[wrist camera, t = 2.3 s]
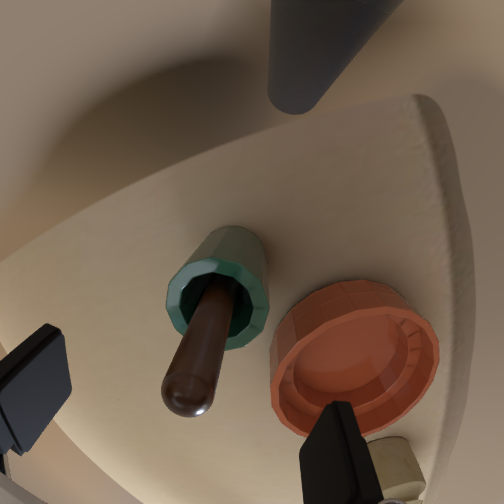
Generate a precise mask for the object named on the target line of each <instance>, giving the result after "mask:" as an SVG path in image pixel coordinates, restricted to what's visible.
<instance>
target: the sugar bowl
mask: <svg viewBox="0 0 504 504" xmlns="http://www.w3.org/2000/svg"><path fill="white" fill-rule="evenodd" d="M367 445H368V448H369V451H370V455H371V458H372V461H373V464H374V467H375V470H376V473H377V477H378V480H379V483H380V486H381V490H382V493H383V496H384V499H389V498H396V499H399V500H402V501H403V502H405V503H407V504H422V502H423V501H422V500H418V497H419V495H420V494H421V493H422V492H423V491H424V490H425V488H426V482H425V479H424V477H423V474H422V471H421V469H420V467H419V464H418V462H417V460H416V458H415V456H414V454H413V452H412V450H411V447H410V445H409V443H408V442H407V440H405V439H403V438H399V437H388V438H383V439H379V440H376V441H373V442H370V443H367Z"/></svg>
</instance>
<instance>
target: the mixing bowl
mask: <svg viewBox="0 0 504 504" xmlns="http://www.w3.org/2000/svg"><path fill="white" fill-rule="evenodd" d="M438 364H439V341H438V338H437V336H436V334H435V332H434V330H433V329H432V327H431V325H430V323H429V322H428V321H427V320H426V319H425V318H424V317H423V316H422V315H421V314H420V313H419V312H418V311H417V310H416V309H415V308H414V307H413V306H412V305H411V304H410V303H409V302H408V301H407V300H406V299H405V298H404V297H403V296H402V295H401V294H399V293H398V292H396V291H395V290H393V289H392V288H391V287H389V286H388V285H385V284H381V283H377V282H373V281H368V280H356V281H345V282H337V283H335V284H332V285H330V286H327V287H325V288H322V289H320V290H317V291H315V292H313V293H311V294H310V295H309V296H307V297H306V298H305V299H303V300H302V301H301V302H299V303H298V304H297V305H295V306H294V307H293V308H292V309H291V310H290V311H289V312H288V314H287V315H286V316H285V318H284V319H283V320H282V322H281V323H280V324H279V326H278V327H277V329H276V331H275V334H274V337H273V340H272V344H271V347H270V388H271V404H272V408H273V410H274V411H275V413H276V415H277V416H278V418H279V420H280V422H281V423H282V424H283V425H285V426H286V427H288V428H289V429H290V430H292V431H293V432H294V433H296V434H297V435H301V436H304V437H308V436H309V434H310V432H311V431H312V429H313V427H314V425H315V424H316V422H317V420H318V418H319V417H320V415H321V413H322V411H323V410H324V408H325V406H326V405H327V404H331V402H332V401H334V400H336V401H348V402H350V403H351V405H352V408H353V411H354V414H355V417H356V420H357V423H358V426H359V429H360V432H361V435H362V437H365V436H367V435H370V434H372V433H375V432H378V431H380V430H382V429H385V428H386V427H388V426H390V425H391V424H393V423H394V422H396V421H397V420H399V419H400V418H402V417H403V416H405V415H406V414H407V413H408V412H409V411H410V410H411V409H412V408H413V407H414V406H415V405H416V404H417V403H418V402H419V401H420V400H421V399H422V397H423V396H424V394H425V393H426V391H427V390H428V388H429V387H430V385H431V383H432V382H433V380H434V377H435V374H436V370H437V367H438Z"/></svg>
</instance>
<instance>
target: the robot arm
mask: <svg viewBox="0 0 504 504" xmlns="http://www.w3.org/2000/svg"><path fill="white" fill-rule="evenodd" d="M71 391H72V386H71V380H70V374H69V368H68V362H67V354H66V347H65V338H64V335H63V334H62V332H61V330H60V329H59V328H57V327H55V326H52V325H50V324H48V323H46V324H44V325H43V326H42V327H40V328H39V329H38V330H37V331H35V332H34V333H33V334H32V335H31V336H29V337H28V338H27V339H26V340H24V341H23V342H22V343H21V344H20V345H18V346H17V347H16V348H15V349H14V350H13V351H11V352H10V353H9V354H8V355H7V356H6V357H4V358H3V359H2V360H1V361H0V504H47V503H46V502H44V501H42V500H41V499H39V498H38V497H36V496H34V495H33V494H31V493H30V492H28V491H27V490H25V489H24V488H22V487H20V486H19V485H18V484H16V483H15V482H14V481H12V479H11V474H10V469H9V463H8V457H7V451H8V450H9V449H11V450H13V451H14V452H15V453H17V454H18V455H20V456H22V454H23V453H24V452H28V451H29V450H30V449H31V448H32V446H33V445H34V443H35V442H36V440H37V439H38V438H39V436H40V435H41V433H42V432H43V431H44V429H45V428H46V427H47V425H48V424H49V422H50V421H51V420H52V418H53V417H54V416H55V414H56V413H57V412H58V410H59V409H60V408H61V406H62V405H63V404H64V402H65V401H66V400H67V399H68V397H69V396H70V394H71ZM299 461H300V471H301V481H302V491H303V502H304V504H407V503H405V502H403V501H402V500H399V499H396V498H389V499H384V496H383V493H382V490H381V486H380V483H379V480H378V477H377V473H376V470H375V467H374V464H373V461H372V458H371V455H370V451H369V448H368V445H367V442H366V440H365V439H364V438H363V437H362V435H361V432H360V429H359V426H358V423H357V420H356V417H355V414H354V411H353V408H352V405H351V403H350V402H348V401H336V400H334V401H332V402H331V404H327V405H326V406H325V408H324V410H323V411H322V413H321V415H320V417H319V418H318V420H317V422H316V424H315V425H314V427H313V429H312V431H311V432H310V434H309V436H308V437H307V439H306V441H305V442H304V444H303V445H302V447H301V449H300V452H299Z"/></svg>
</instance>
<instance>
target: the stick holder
mask: <svg viewBox="0 0 504 504" xmlns="http://www.w3.org/2000/svg"><path fill="white" fill-rule="evenodd" d="M214 272H215V273H219V274H223V275H227V276H231V277H234V278H235V279H236V280H237V281H238V282H239V285H238V290H237V294H236V299H235V303H234V308H233V313H232V317H231V322H230V327H229V331H228V336H227V340H226V345H225V350H224V351H226V350H231V349H236V348H241V347H244V346H246V345H247V344H248V343H249V342H250V341H252V340H253V339H254V338H255V337H256V336H257V335H259V334H260V333H261V332H262V331H263V329H264V325H265V322H266V319H267V315H268V312H269V283H268V260H267V256H266V252H265V248H264V246H263V244H262V242H261V241H260V239H259V238H258V237H257V236H256V235H255V234H254V233H253V232H251V231H249V230H248V229H245V228H243V227H239V226H225V227H222V228H219V229H217V230H215V231H213V232H211V233H210V235H209V236H208V237H207V238H206V239H205V240H204V241H203V242H202V243H201V244H200V246H199V247H198V248H197V249H196V250H195V252H194V253H193V254H192V255H191V256H190V258H189V259H188V260H187V261H186V262H185V263H184V265H183V266H182V267H181V268H180V270H179V271H178V272H177V273H176V274H175V276H174V277H173V278H172V279H171V280H170V282H169V284H168V291H167V299H166V310H167V312H168V314H169V317H170V319H171V321H172V323H173V326H174V328H175V329H176V330H177V331H178V332H179V333H180V334H182V335H183V336H184V334H185V332H186V330H187V327H188V325H189V323H190V321H191V319H192V317H193V315H194V313H195V310H196V308H197V306H198V304H199V302H200V300H201V298H202V296H203V294H204V291H205V289H206V287H207V285H208V283H209V281H210V279H211V277H212V275H213V273H214Z"/></svg>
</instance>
